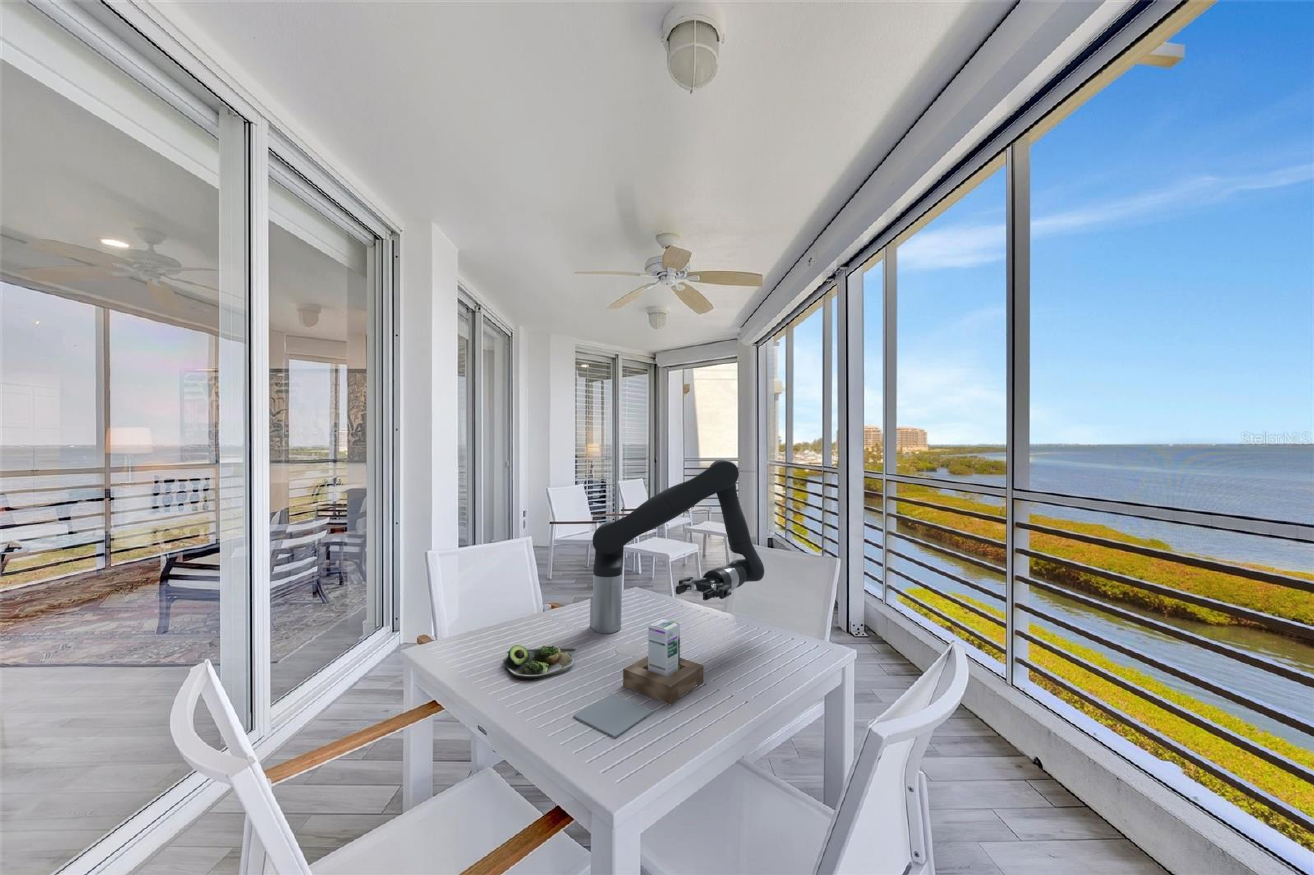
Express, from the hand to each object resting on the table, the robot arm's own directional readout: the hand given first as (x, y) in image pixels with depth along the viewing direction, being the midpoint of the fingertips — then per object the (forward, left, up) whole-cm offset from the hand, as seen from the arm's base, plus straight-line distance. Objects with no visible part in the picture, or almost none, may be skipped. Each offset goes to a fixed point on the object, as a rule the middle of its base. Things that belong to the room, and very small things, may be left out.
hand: (690, 593), depth 126 cm
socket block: (0, -11, -19) cm, 22 cm away
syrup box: (0, -11, -20) cm, 22 cm away
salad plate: (-32, -24, -20) cm, 45 cm away
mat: (0, -29, -19) cm, 35 cm away
